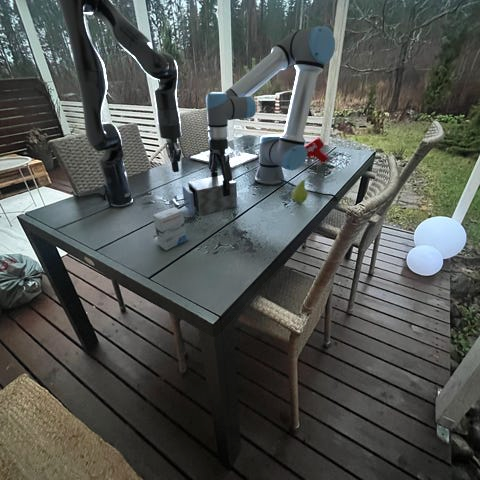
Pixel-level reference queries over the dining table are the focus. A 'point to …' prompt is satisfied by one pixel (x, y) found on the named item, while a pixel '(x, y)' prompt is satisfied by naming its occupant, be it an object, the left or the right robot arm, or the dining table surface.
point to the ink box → (170, 228)
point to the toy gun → (316, 150)
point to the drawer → (188, 199)
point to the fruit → (300, 192)
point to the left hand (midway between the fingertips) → (175, 171)
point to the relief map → (234, 156)
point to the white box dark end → (213, 195)
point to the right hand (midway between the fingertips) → (220, 191)
